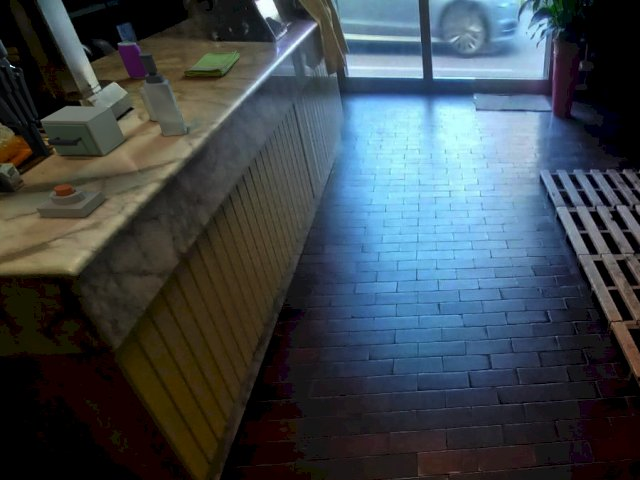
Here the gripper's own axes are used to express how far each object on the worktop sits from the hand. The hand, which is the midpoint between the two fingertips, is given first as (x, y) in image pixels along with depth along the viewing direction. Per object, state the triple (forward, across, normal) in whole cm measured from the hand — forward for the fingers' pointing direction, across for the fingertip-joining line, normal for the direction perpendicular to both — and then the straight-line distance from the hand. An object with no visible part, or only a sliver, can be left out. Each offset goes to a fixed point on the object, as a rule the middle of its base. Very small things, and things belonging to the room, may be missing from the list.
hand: (42, 155), depth 119 cm
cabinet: (+13, +41, +15) cm, 46 cm away
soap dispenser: (+13, +57, -3) cm, 59 cm away
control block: (+13, -1, -1) cm, 13 cm away
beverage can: (+14, +122, +37) cm, 128 cm away
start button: (+9, -1, -1) cm, 9 cm away
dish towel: (+13, +142, +13) cm, 144 cm away
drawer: (+12, +37, +15) cm, 42 cm away
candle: (+13, +69, +7) cm, 71 cm away
